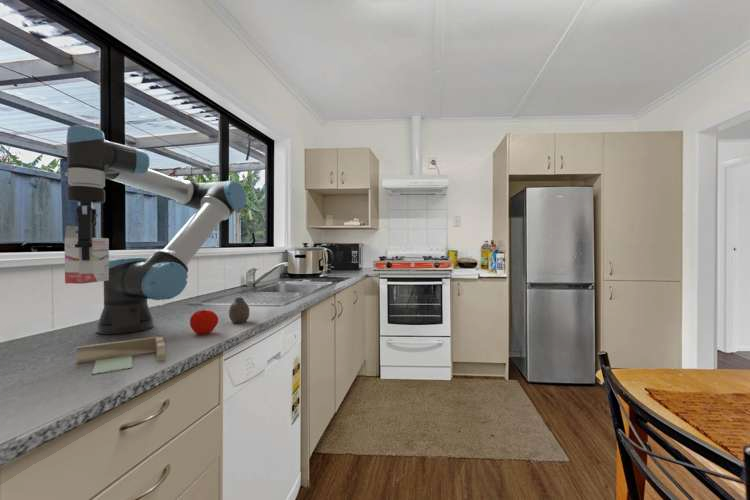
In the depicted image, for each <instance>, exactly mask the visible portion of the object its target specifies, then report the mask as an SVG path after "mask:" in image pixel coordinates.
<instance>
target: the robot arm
mask: <svg viewBox="0 0 750 500" xmlns="http://www.w3.org/2000/svg"><path fill="white" fill-rule="evenodd" d="M65 144H66V153H67V154H66V155H67V156H66V158H67V171H68V172H65V173H64V176H65V177H67V183H68V184H69V186H68V187H67V199H68V200H69V201H70V202H73V203H80V204H79V205H78V206H77V208H76V215H77V218H76V219H77V226H78V231H77V233H78V242H77V244H75V248H79V274H90V273H93V248H92V246H93V245H92V238H97V229H96V228H97V227H96V225H97V223H98V220H97V217H98V209H96V208H95V207H94V206H95V205H94V204H104V203H105V202H106V190H105V189H104V188H105V187H106V179H107V180H110V181H114V182H117V183H121V184H123V185H126V186H129V187H133V188H136V189H140V190H143V191H146V192H149V193H151V194H155V195H159V196H162V197H165V198H167V199H168V198H169V199H172V200H175V202H176V203H177V204H179V205H182V206H186V207H189V208H191V209H194V210H196V211H195V213H194V214H193V215H192V216H191V217H190V218H189V220H188V221H187V222H186V223H185V224H184V225H183V227H182V228H181V229H179V231H178V232H177V233H176V234H175V236H174V237H173V238H172V239H171V241H170V242H169V243H168V244H167V245H166V246H165V247H164V248H163V249H161V250H156V251H154V253H152V254H151V256H150V257H149V258H148V259H147V258H146V257H126V258H116V259H109V280H108V281H103V309H102V312H101V314H100V316H99V319H98V322H97V325H96V332H97V333H98V334H101V335H121V334H128V333H130V334H131V333H136V332H141V331H145V330H149V329H151V328H153V327H154V326H155V323H154V321H155V320H154V317H153V315H152V312H151V310H150V307H149V304H148V300H152V301H153V300H154V301H163V300H165V301H166V300H171V299H174V298H175V297H178V296H179V295H180V294H181V293H182V292H183V291H184V290H185V288H186V286H187V283H188V280H187V279H188V277H189V276H188V272H189V267H188V264H189V263H190V262H191V261H192V260H193V258H194V257H195V256H196V254H197V253H198V252H199V250H200V249H201V247H202V246H203V245H204V244H205V242H206V241H207V240H208V238H210V236H211V235H212V233H213V232H214V231H215V230H216V228H217V227H218V226H219V224H220V223H221V222H222V221H226V220H228V219H229V218H230V217H231V216H232V214H233V213H234V212H239V211H243V209H244V208H246V205H247V194H246V191H245V189H244V187H243V186H242V184H240V183H239V182H238V181H236V180H228V179H227V180H226V181H225V180H223V181H212V182H211V181H210V182H209V181H207V182H195V181H191V180H187V179H184V180H180V179H177V178H175V177H173V176H172V177H171V176H170V175H166V174H164V173H161V172H159V171H155V170H154V169H150V168H149V167H150V156H149V154H148V153H147V152H146V151H144V150H142V149H140V148H137V147H135V146H128V145H125V144H121V143H119V142H118V143H117V142H113V141H109V140H106V137H105V133H104V132H103V130H101V129H99V128H97V127H94V126H93V127H92V126H90V125H89V126H88V125H81V124H75V125H71V126H69V127H68V128H67V133H66V142H65Z"/></svg>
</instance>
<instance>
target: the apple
mask: <svg viewBox="0 0 750 500" xmlns="http://www.w3.org/2000/svg"><path fill="white" fill-rule="evenodd" d="M218 323H219V317H218V315H217V314H216V313H215V311H213V310H208V309H207V310H204V309H203V310H202V309H201V310H197V311H195V312H194V313H193V314H192V315H191V317H190V319H189V327H190V328H191V329H192V331H193V332H194V333H195V334H196V335H209V334H210V333H211V332H212V331H213V330H214V329H215V328H216V327H217V326H218Z"/></svg>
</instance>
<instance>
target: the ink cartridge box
mask: <svg viewBox="0 0 750 500" xmlns="http://www.w3.org/2000/svg"><path fill="white" fill-rule="evenodd" d="M64 235H65V237H64V284H75V285H76V284H79V285H81V284H82V285H84V284H90V283H98V282H99V283H100V282H104V281H108V280H109V260H110V252H109V251H110V248H109V247H110V239H109V238H108V237H106V238H105V237H96V238H92V245H93V246H92V248H93V273H90V274H79V248H75V244H77V242H78V225H66V227H65V234H64Z"/></svg>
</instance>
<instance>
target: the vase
mask: <svg viewBox="0 0 750 500" xmlns="http://www.w3.org/2000/svg"><path fill="white" fill-rule="evenodd" d="M228 317H229V320H230V321H231V322H232V323H233V324H244V323H246V322H247V321H248V320H249V317H250V307H249V305H248V303H247V302H246V301H245V300H244V298H243V297H235V299H234V300H233V302H232V303H231V305H230V307H229V310H228Z"/></svg>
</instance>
